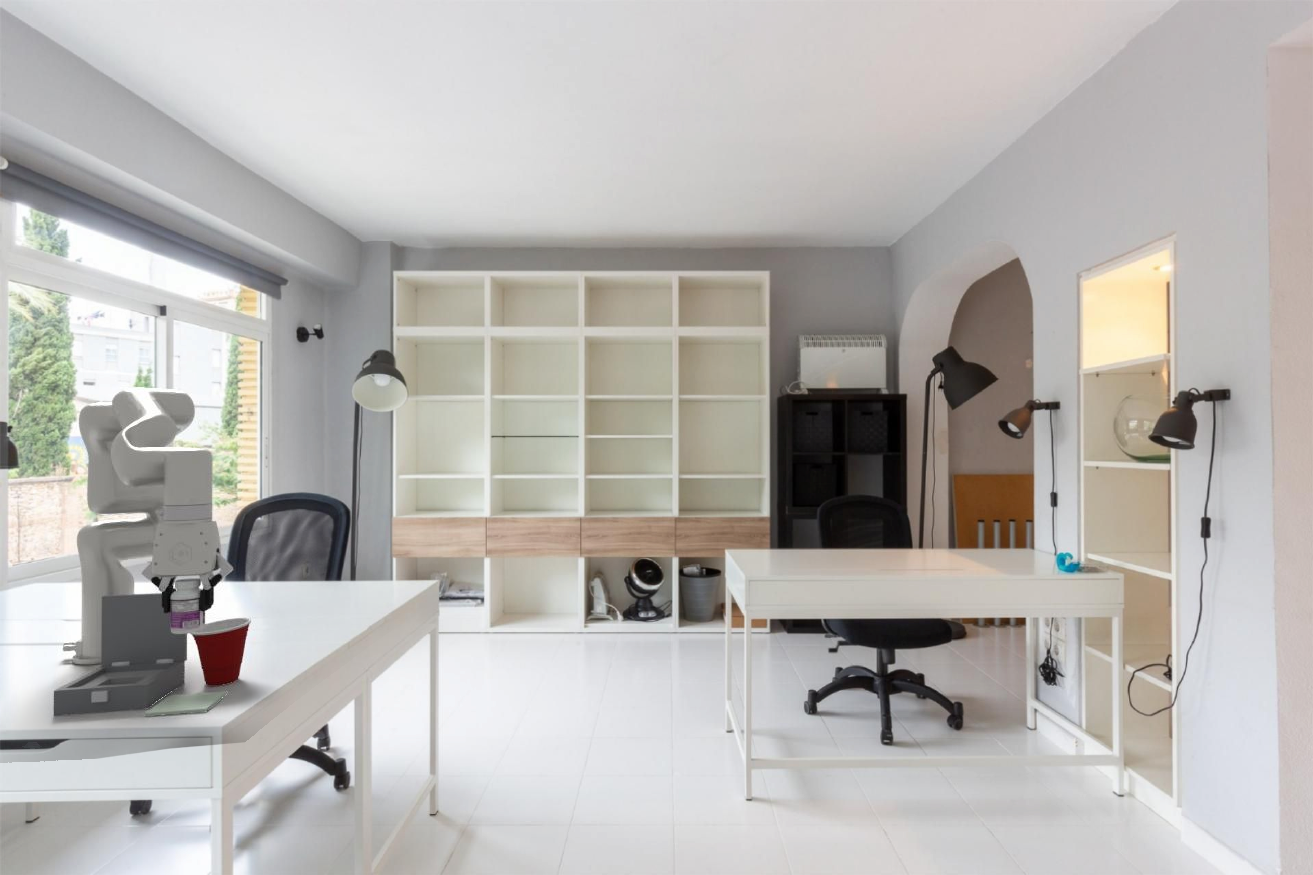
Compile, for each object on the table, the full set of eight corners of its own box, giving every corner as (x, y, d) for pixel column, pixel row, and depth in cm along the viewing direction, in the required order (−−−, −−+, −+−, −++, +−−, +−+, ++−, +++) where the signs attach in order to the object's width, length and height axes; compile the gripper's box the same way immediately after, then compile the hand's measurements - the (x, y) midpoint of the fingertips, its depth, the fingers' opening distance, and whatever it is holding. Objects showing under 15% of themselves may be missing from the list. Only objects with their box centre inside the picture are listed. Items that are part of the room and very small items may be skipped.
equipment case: (51, 717, 121) (52, 613, 121) (104, 687, 136) (104, 595, 137) (145, 710, 124) (145, 609, 124) (186, 681, 139) (187, 591, 140)
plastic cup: (197, 676, 142) (197, 619, 143) (256, 670, 146) (256, 614, 147) (182, 694, 132) (182, 632, 132) (245, 686, 136) (245, 627, 136)
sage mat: (144, 716, 121) (144, 713, 121) (170, 698, 130) (170, 695, 130) (206, 712, 123) (206, 708, 123) (227, 694, 132) (227, 691, 132)
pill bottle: (181, 627, 129) (181, 577, 129) (211, 626, 130) (211, 576, 130) (163, 635, 124) (163, 582, 124) (194, 634, 124) (194, 581, 124)
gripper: (125, 517, 122) (124, 618, 121) (230, 514, 125) (229, 612, 125) (148, 513, 129) (147, 608, 129) (246, 511, 132) (246, 603, 132)
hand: (188, 609), depth 127 cm, fingers closed on pill bottle, 5 cm apart
